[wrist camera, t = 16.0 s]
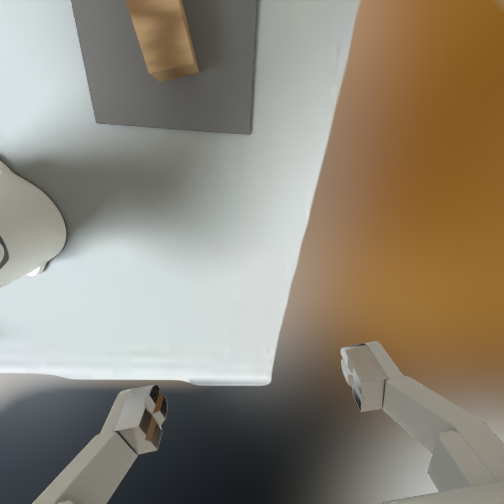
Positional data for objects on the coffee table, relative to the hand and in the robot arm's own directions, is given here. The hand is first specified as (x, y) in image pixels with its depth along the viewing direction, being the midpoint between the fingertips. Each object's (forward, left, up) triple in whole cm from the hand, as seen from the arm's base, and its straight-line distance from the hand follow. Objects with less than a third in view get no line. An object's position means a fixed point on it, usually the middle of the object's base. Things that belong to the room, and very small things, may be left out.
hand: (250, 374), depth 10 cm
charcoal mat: (-9, +19, -29) cm, 36 cm away
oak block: (-10, +23, -27) cm, 37 cm away
